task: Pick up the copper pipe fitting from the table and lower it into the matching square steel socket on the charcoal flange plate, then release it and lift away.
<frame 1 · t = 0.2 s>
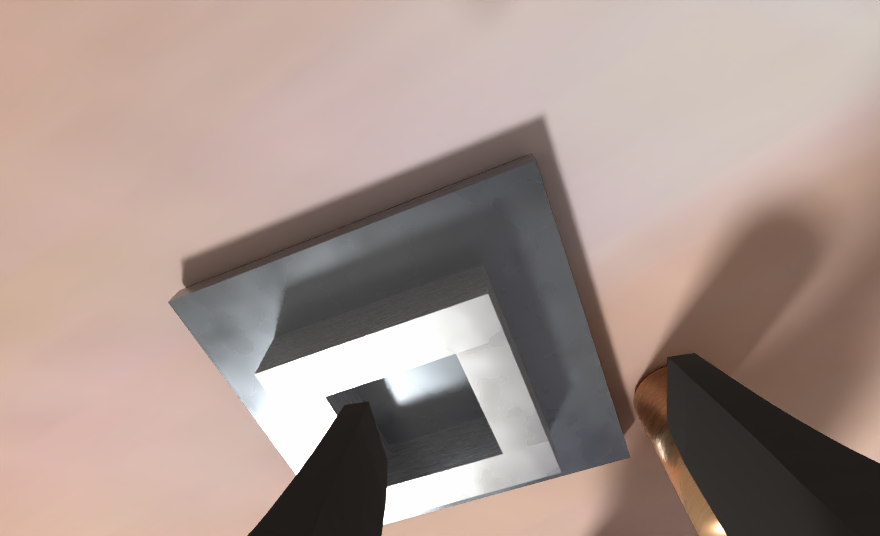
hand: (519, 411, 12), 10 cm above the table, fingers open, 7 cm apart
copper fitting: (675, 396, 24), on the table
flange socket: (419, 372, 23), on the table
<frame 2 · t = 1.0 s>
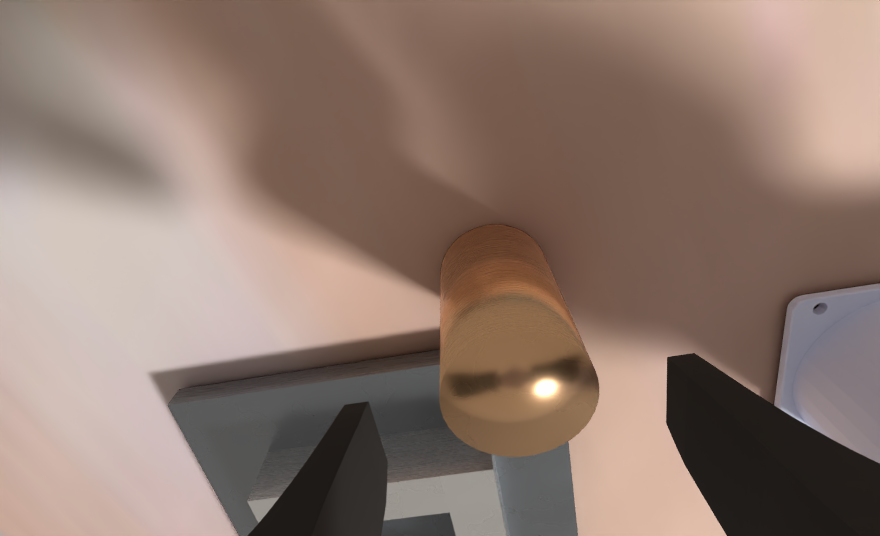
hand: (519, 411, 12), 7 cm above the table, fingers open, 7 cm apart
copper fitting: (493, 274, 19), on the table
flange socket: (402, 494, 24), on the table
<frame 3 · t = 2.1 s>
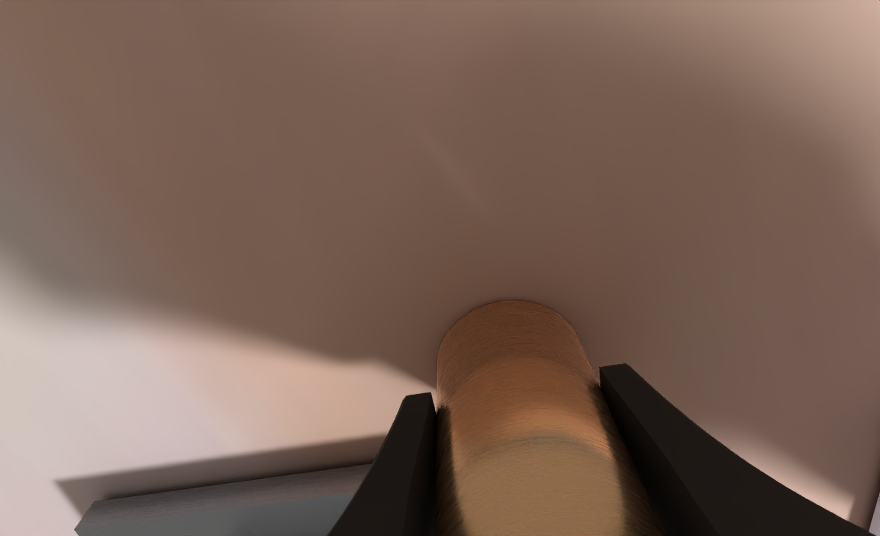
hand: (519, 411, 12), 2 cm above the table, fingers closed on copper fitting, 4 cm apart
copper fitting: (509, 363, 14), on the table, touching gripper
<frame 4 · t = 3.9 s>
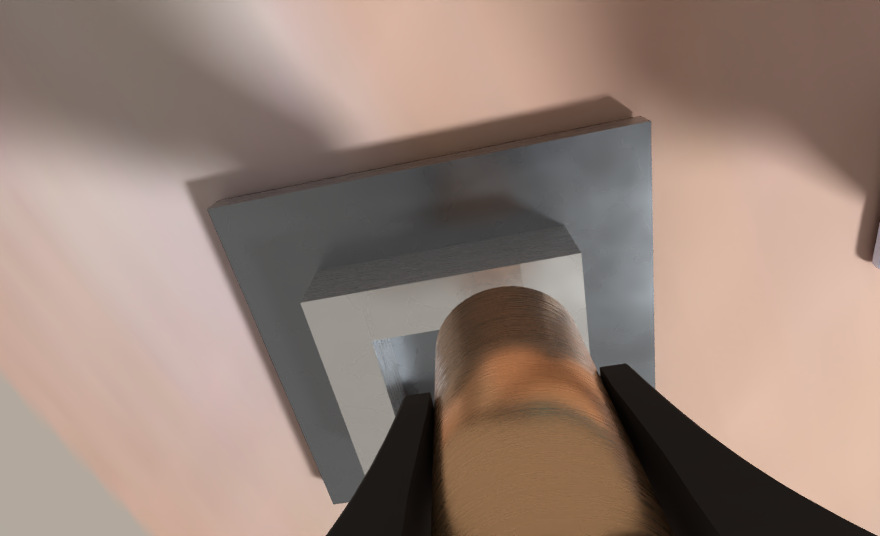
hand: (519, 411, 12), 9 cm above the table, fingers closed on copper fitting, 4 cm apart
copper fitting: (507, 350, 14), point 7 cm above the table, touching gripper
flange socket: (459, 337, 22), on the table
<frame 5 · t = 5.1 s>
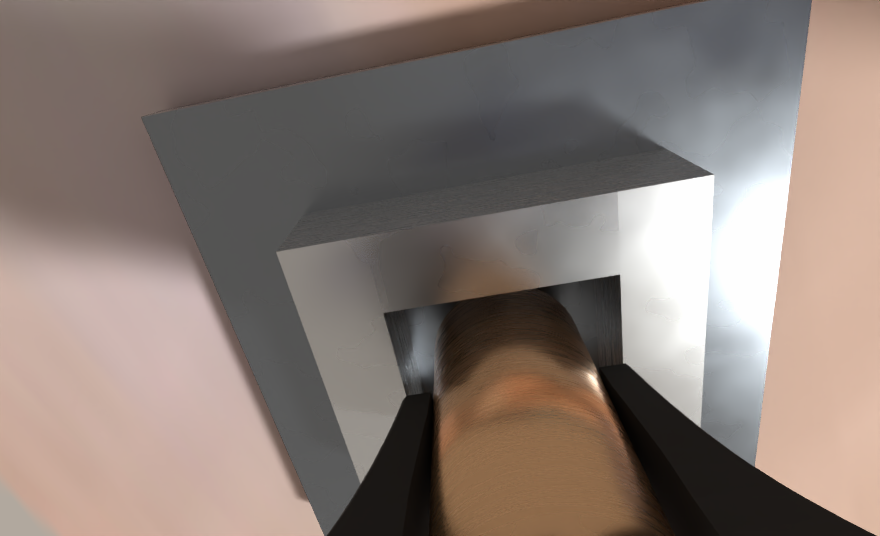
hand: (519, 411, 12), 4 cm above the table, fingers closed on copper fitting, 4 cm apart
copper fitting: (506, 349, 14), point 2 cm above the table, touching gripper
flange socket: (499, 316, 16), on the table
when the fingers open (4 cm above the table, at t = 5.8 s): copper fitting drops 1 cm, resting on flange socket.
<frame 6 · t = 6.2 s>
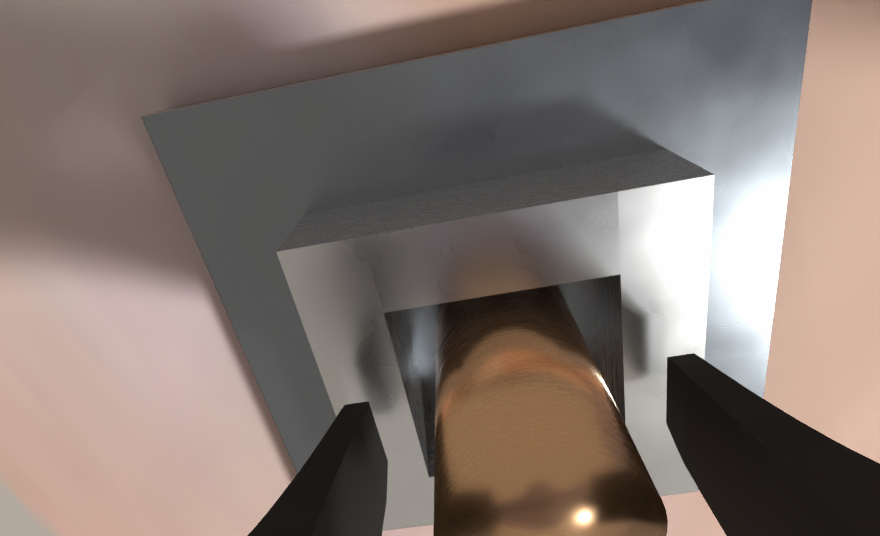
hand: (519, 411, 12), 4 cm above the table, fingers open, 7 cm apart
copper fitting: (502, 325, 15), point 1 cm above the table, touching flange socket
flange socket: (499, 316, 16), on the table
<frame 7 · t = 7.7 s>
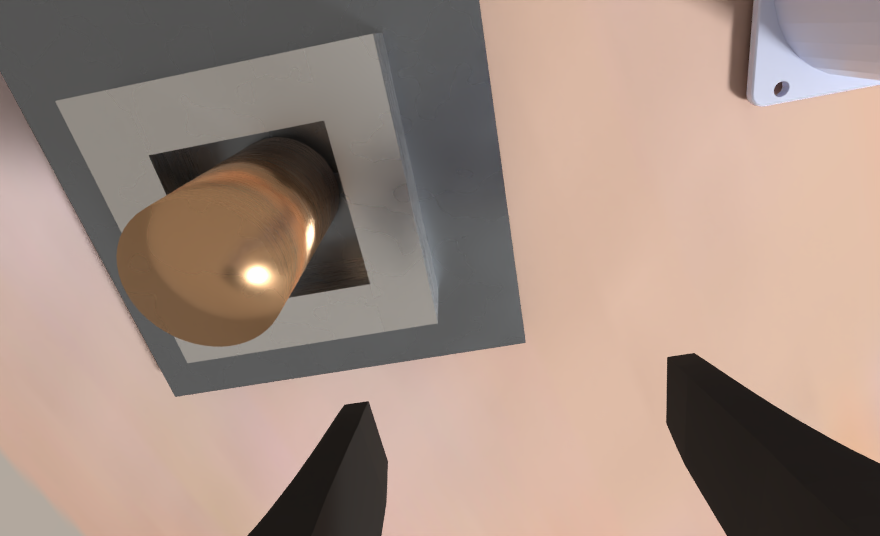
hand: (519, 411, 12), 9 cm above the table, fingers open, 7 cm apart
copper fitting: (285, 192, 18), point 1 cm above the table, touching flange socket
flange socket: (294, 191, 19), on the table
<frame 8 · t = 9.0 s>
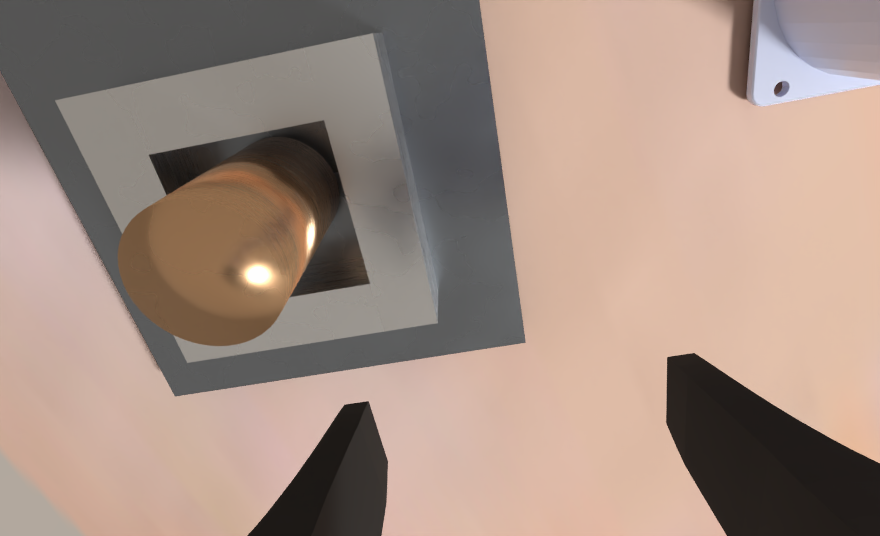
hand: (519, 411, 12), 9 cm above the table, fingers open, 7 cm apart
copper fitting: (285, 191, 18), point 1 cm above the table, touching flange socket
flange socket: (294, 191, 19), on the table
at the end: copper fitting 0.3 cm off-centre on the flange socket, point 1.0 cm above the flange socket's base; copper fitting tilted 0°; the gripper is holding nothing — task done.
